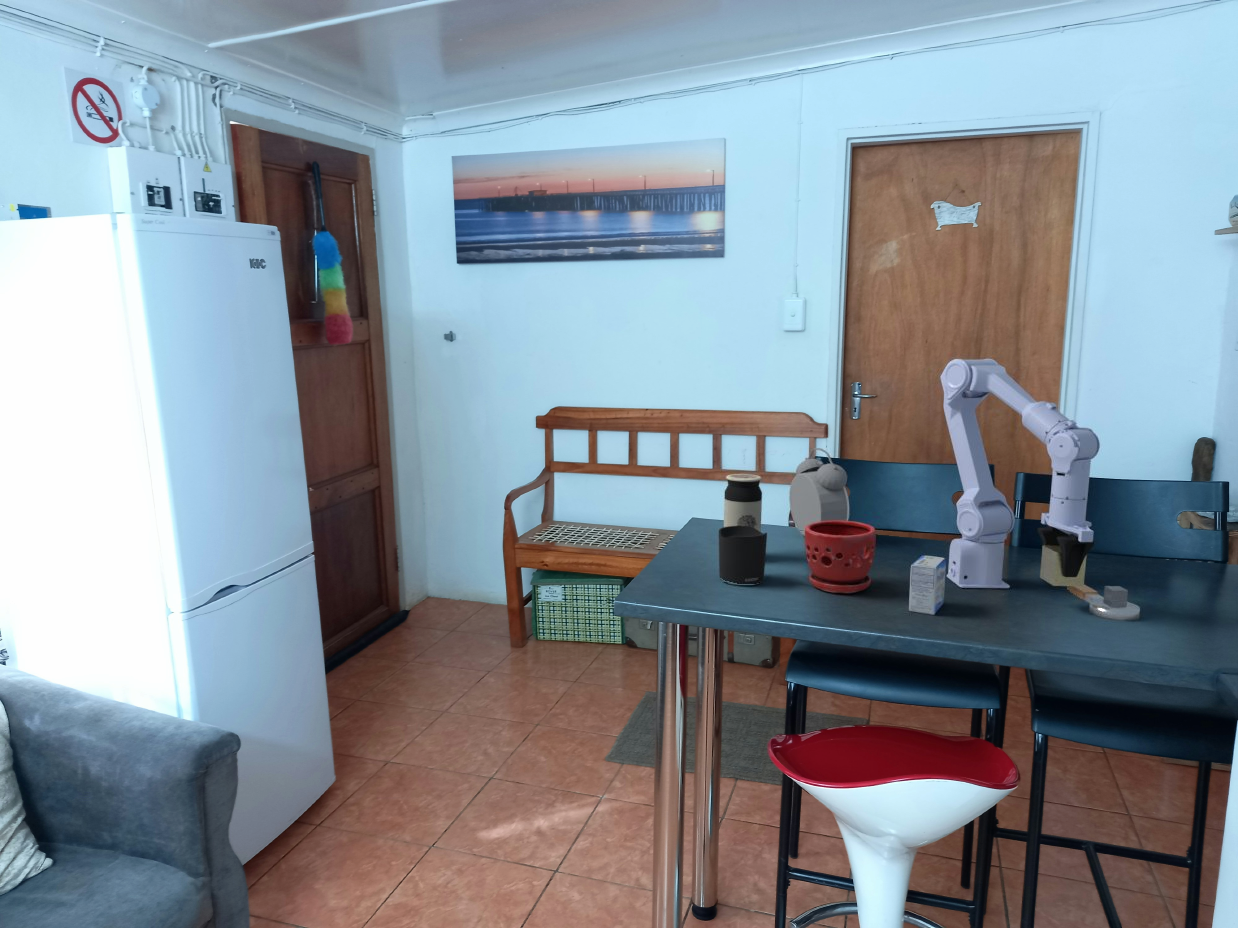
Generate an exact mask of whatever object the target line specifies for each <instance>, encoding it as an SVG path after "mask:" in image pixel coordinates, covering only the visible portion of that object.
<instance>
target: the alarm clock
mask: <svg viewBox="0 0 1238 928" xmlns="http://www.w3.org/2000/svg"><path fill="white" fill-rule="evenodd" d="M814 451H821V452H823V453H824V454H826V456H827V458H828V461H829V462H830V463H826V464H825V463H824V462H823V461H822V460H820V459H817V458H811V457H812V455H813V453H814ZM847 481H848V475H847V472H846V471H845V469H844V468H843V467H842V466H840V465H838V464H835V463H833V461H832V458H831V456H830V453H829V452H828V451H827V450H825V449H823V448H820V447H815V448H812V449H811V450H810V453H809V456H808V457H805V458H804V460H803V461H801V462H800V463H799V464H798V465H797V466H796V469H795V475H794V478H793V479H792V481H791V483H790V488H789V496H788V497H789V499H788V500H789V509H790V513H791V517H792V520H793V522H794V524H795V527H796V528H797V530H798V531H799V530H803V531H799V533H800V534H801V535H802V536H803V537H805V527H806V526H807V525H809V524H812V523H815V522H821V521H832V520H835V521H849V518H850V500H849V494H848V491H847V489H846V484H847Z"/></svg>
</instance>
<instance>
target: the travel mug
mask: <svg viewBox="0 0 1238 928" xmlns="http://www.w3.org/2000/svg"><path fill="white" fill-rule="evenodd" d="M725 478H726V481H727V486H726V488H725V490H724V501H723V503H724V505H723V506H724V507H723V509H724V510H723V527H728V526H749V527H753V528H755V529H757V530H758V531H760V532H761V533H762V511H763V510H762V509H763V502H762V501H763V491H762V489H761V487H760V482H761V480H762V476H760V475H756V474H751V473H749V474H748V473H733V474H728V475H726V476H725Z"/></svg>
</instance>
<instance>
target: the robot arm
mask: <svg viewBox="0 0 1238 928" xmlns="http://www.w3.org/2000/svg"><path fill="white" fill-rule="evenodd" d="M940 382H941V385H942V390H943V411H944V415H945V416H944V417H945V420H946V424H947V428H948V429H947V430H948V431H949V436H950V440H951V444H952V449H953V452H954V457H955V460H956V464H957V468H958V472H959V476H960V477H959V478H960V483H961V485H962V489H963V494H962V495H961V497H960V498H959V499H958V501H957V502H956V504H955V505H956V508H957V509H956V510H957V516H956V517H957V518H956V526H957V528H958V531H959V532H960V534H961V538H954V539H952V541H950V542H951V543H950V545H949V556H948V568H947V569H948V571H947V572H948V573H947V574H946V578H948V579H949V580H950V581H952V582H953V583H954V584H956V585H957V586H958V587H960V588H961V589H962V588H965V589H967V588H968V589H969V588H970V589H1009V588H1010V587H1011V585H1009V584H1008V583H1007V582H1005V581H1004V580H1003V569H1004V568H1003V567H1004V566H1003V565H1004V554H1005V553H1004V552H1005V542H1006V541H1005V540H1008V534H1010V532H1012V531H1013V529H1014V528H1015V524H1016V522H1015V521H1016V518H1015V514H1014V512H1013V510H1012V508H1011V507H1010V505H1009V504H1008V502H1007V499H1006V496H1005V495H1004V494H1003V493H1002V492H1001V491H1000V490H999V489H997V488H995V486H994V482H993V478H992V475H991V471H990V466H989V463H988V458H987V455H986V454H987V453H986V450H985V447H984V443H983V438H982V435H981V431H980V427H979V422H978V420H977V419H978V418H977V413H976V409H977V407H978V406H979V404H980V403H982V401H984V399H985V398H987V396H989V395H990V394H993V395H994V396H995V397H997V398H998V399H999V400H1000V401H1002V402H1004V403H1005V404H1006V405H1008V406H1009V407H1010V408H1011V409H1012V410H1014V411H1015V412H1017V413H1018V414H1019V415H1020V416H1022V417H1021V423H1022V426H1023V427H1024V428H1026V429H1027V430H1028V431H1029V432H1030V433H1031V434H1032V435H1034V436H1035V437H1036V438H1037V439H1038V440H1039V441H1041V442H1042V444H1044V445H1045V446H1046V449H1047V453H1048V455H1049V458H1050V459H1051V466H1050V467H1051V468H1052V475H1051V476H1052V477H1051V488H1050V489H1051V490H1050V498H1049V499H1050V501H1049V510H1048V512H1041V519H1040V520H1041V521H1040V523H1041V524H1042V525H1046V526H1045V527H1038V528H1037V533H1038V534H1039V536H1040V539H1041V541H1042V546H1043V545H1060V549H1061V554H1062V571H1063V576H1064V577H1077V575H1078V573H1079V571H1080V568H1081V565H1082V563H1083V561H1084V558H1085V557H1086V558H1087V556H1088V553H1089V552H1090V550H1091V549H1092V548H1093V547H1094V546H1095V542H1096V541H1095V540H1094V530H1092V529H1090V527H1092V522H1090V521H1087V520H1086V518H1087V517H1086V516H1087V505H1088V497H1089V496H1088V493H1089V486H1090V485H1089V484H1090V473H1091V465H1092V464H1091V462H1092V460H1093V459H1094V458H1095V457H1096V456H1097V455H1098V454H1099V451H1100V447H1101V443H1100V439H1099V437H1098V435H1097V434H1096V433H1095V432H1094V430H1093V429H1092V428H1089V427H1085V426H1084V427H1079V426H1078V425H1077V422H1076V421H1075V420H1073V419H1069V418H1068V417H1067V416H1066V415H1064V414H1063V413H1062V412H1060V411H1059V410H1058V409H1057V408H1058V405H1057V404H1056V403H1054V402H1048V401H1045V400H1044V401H1043V400H1042V401H1036V400H1035V399H1034V398H1033V397H1032V396H1031V395H1030V394H1029V393H1028V392H1027V391H1026V390H1025V389H1023V387H1021V385H1020V384H1018V383H1017V382H1016V381H1015V380H1014V379H1013V378H1012V377H1011V376H1010V375H1009V374H1008V373H1007V370H1006V367H1004V366H1002V365H1000V364H999V362H997V361H996V360H994V359H993V358H985V359H983V358H982V359H960V358H955V359H952V360H951V361H949V362H948V363H947V365H946V366H945V368H944V370H943V372H942V373H941V375H940ZM1086 555H1087V556H1086Z"/></svg>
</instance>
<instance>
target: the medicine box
mask: <svg viewBox="0 0 1238 928" xmlns="http://www.w3.org/2000/svg"><path fill="white" fill-rule="evenodd" d="M946 566H947V558H945V557H940V556H933V555H921V556H920V557H919V558H918V559H917V560H916V561H914V562H913V563H912V564H911V566H910V576H909V578H910V579H909V599H908V600H909V601H908V611H909V612H912V613H917V614H923V615H931V616H935V614H936V613H937V612H938V611H939V609H940V608H941V607H942V605H944V601H945V585H946V582H945V581H946V569H947V567H946Z"/></svg>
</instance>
